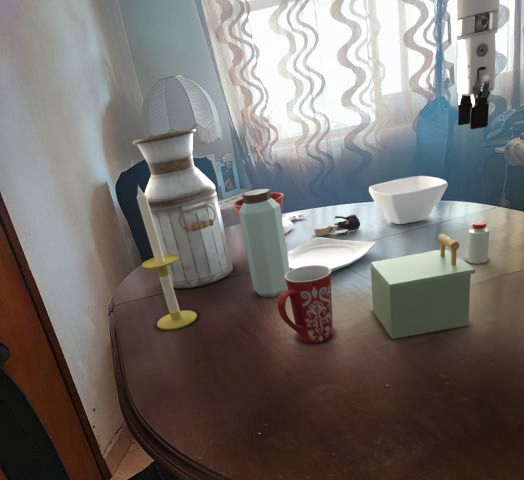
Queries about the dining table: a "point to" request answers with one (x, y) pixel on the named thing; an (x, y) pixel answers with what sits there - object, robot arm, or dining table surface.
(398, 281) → the lid
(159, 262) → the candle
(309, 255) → the plate
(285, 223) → the spray bottle
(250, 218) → the water bottle
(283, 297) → the mug
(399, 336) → the chest
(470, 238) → the spice bottle
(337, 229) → the toy figure
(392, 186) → the bowl
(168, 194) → the milk can
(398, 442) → the dining table surface
